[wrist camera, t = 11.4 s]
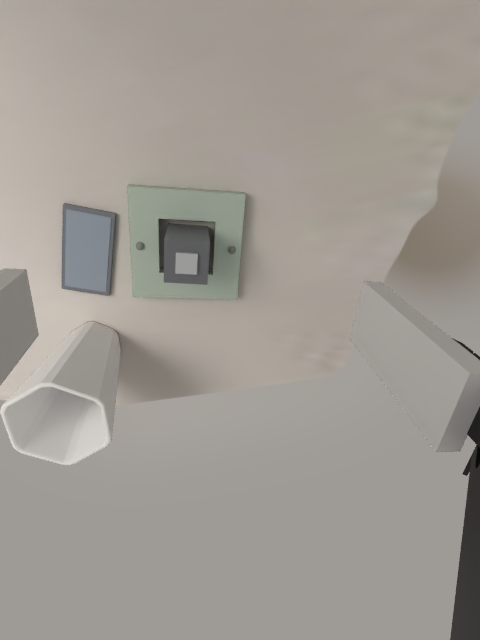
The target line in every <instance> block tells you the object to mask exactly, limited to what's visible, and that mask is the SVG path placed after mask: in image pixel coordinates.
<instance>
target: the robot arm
mask: <svg viewBox="0 0 480 640" xmlns="http://www.w3.org/2000/svg"><path fill="white" fill-rule="evenodd" d="M38 335H39V334H38V329H37V323H36V318H35V313H34V307H33V302H32V297H31V291H30V286H29V281H28V275H27V270H26V269H3V270H1V271H0V385H1V384H2V383H3V381H4V380H5V379H6V377H7V376H8V375H9V374H10V372H11V371H12V370H13V368H14V367H15V366H16V364H17V363H18V362H19V360H20V359H21V358H22V356H23V355H24V354H25V352H26V351H27V350H28V348H29V347H30V346H31V344H32V343H33V342H34V340H35V339H36V338H37V337H38ZM350 340H351V341H352V343H353V344H354V345H355V347H356V348H357V349H358V350H359V352H360V353H361V354H362V356H363V357H364V358H365V359H366V361H367V362H368V363H369V365H370V366H371V367H372V369H373V370H374V371H375V373H376V374H377V375H378V377H379V378H380V379H381V381H382V382H383V383H384V385H386V387H387V388H388V390H389V391H390V392H391V394H392V395H393V396H394V398H395V399H396V400H397V402H398V403H399V404H400V405H401V407H402V408H403V409H404V411H405V412H406V413H407V415H408V416H409V417H410V419H411V420H412V421H413V422H414V424H415V425H416V426H417V428H418V429H419V430H420V432H421V433H422V434H423V436H424V437H425V438H426V440H427V441H428V442H429V443H430V445H431V446H432V447H433V449H434V450H435V451H436V452H453V451H454V452H455V451H460V450H461V448H462V446H463V444H464V442H465V439H466V438H467V435H469V437H470V438H471V439H472V440H473V441H474V442H475V443H476V444H477V445H476V447H475V450H474V452H473V454H472V456H471V458H470V460H469V462H468V464H467V466H466V468H465V470H464V472H463V474H464V475H466V476H467V475H468V473H469V472H470V475H469V483H468V492H467V500H466V509H465V518H464V527H463V535H462V544H461V552H460V561H459V570H458V578H457V587H456V595H455V604H454V612H453V622H452V630H451V638H450V640H480V357H479V356H478V355H477V354H475V353H473V351H472V350H470V349H469V348H468V347H466V346H465V345H464V344H463V343H461V342H459V341H457V340H455V339H453V338H451V337H450V336H449V335H447V334H446V333H445V332H443V331H442V330H441V329H440V328H438V327H437V326H436V325H434V324H433V323H432V322H431V321H430V320H428V319H427V318H426V317H424V316H423V315H422V314H421V313H419V312H418V311H417V310H416V309H414V308H413V307H412V306H411V305H409V304H408V303H407V302H406V301H404V300H403V299H402V298H401V297H399V296H398V295H397V294H395V293H394V292H393V291H392V290H390V289H389V288H388V287H387V286H385V285H384V284H383V283H382V282H370V281H364V282H363V286H362V290H361V294H360V298H359V302H358V306H357V310H356V315H355V319H354V323H353V327H352V331H351V335H350Z"/></svg>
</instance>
